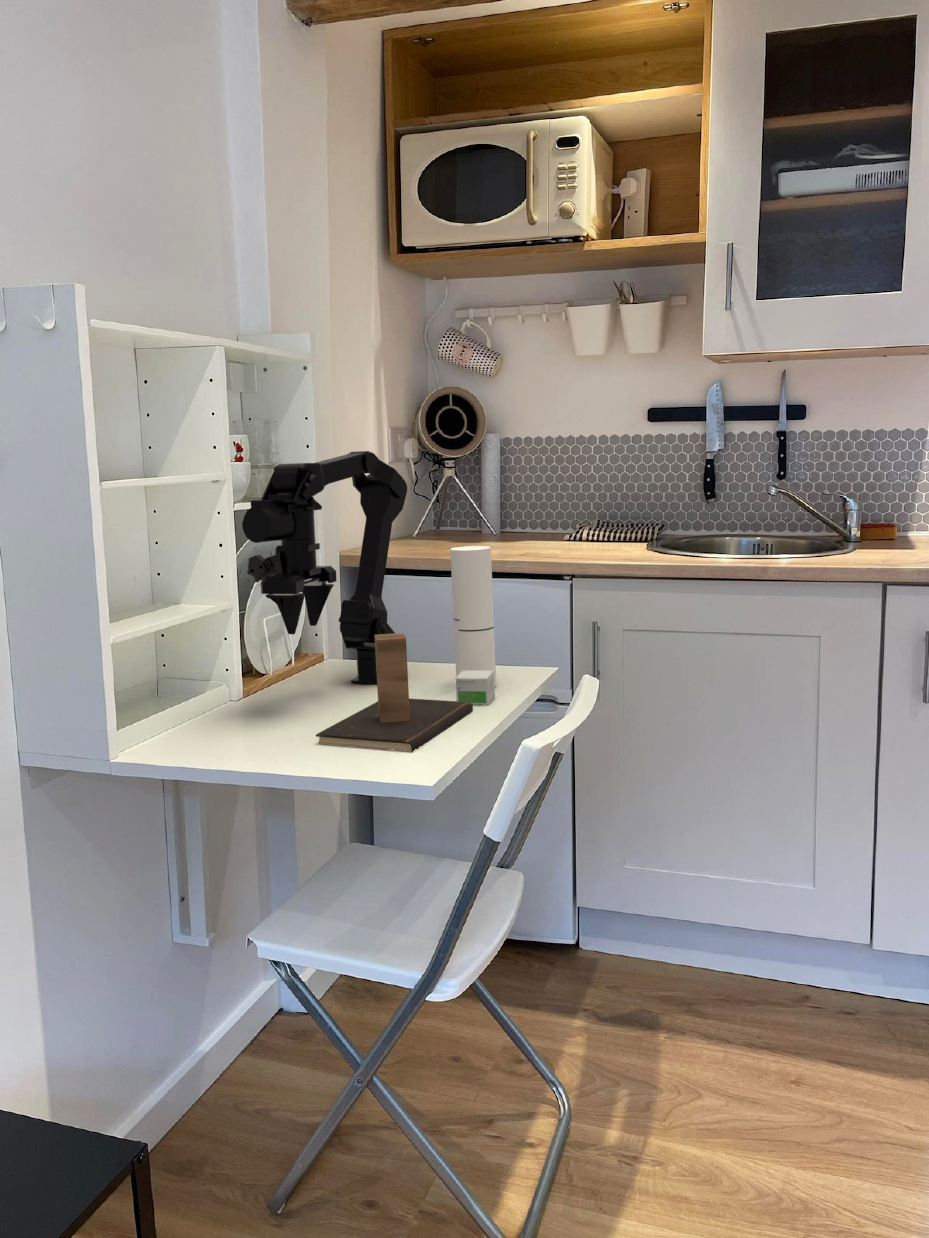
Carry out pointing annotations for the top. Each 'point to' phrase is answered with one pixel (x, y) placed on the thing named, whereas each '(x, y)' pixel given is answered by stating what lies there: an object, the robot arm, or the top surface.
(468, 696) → the small box
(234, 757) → the top surface
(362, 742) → the hardcover book
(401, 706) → the walnut block
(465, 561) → the cylindrical container
